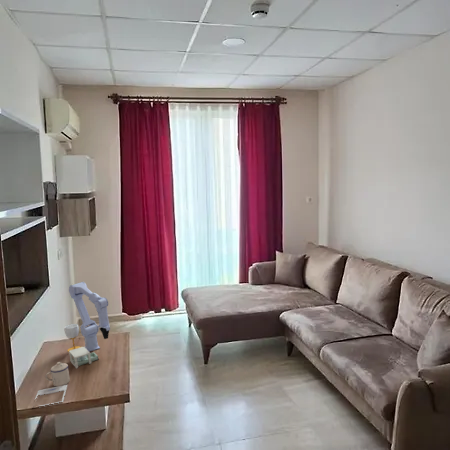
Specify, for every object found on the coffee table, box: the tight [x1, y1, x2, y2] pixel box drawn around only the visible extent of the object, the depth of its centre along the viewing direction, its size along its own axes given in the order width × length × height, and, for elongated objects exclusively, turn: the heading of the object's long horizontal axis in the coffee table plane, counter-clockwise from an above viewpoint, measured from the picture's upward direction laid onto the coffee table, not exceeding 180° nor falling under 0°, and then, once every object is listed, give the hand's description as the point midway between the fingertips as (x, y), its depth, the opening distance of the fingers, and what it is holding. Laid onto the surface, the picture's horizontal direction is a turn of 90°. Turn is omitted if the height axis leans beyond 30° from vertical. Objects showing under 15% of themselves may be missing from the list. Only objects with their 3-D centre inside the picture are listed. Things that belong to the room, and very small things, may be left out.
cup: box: [64, 323, 81, 353], centre depth 273 cm, size 9×9×16 cm
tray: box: [73, 351, 99, 367], centre depth 254 cm, size 8×13×4 cm, turn 125°
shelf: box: [68, 345, 92, 369], centre depth 252 cm, size 13×9×7 cm
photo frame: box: [34, 384, 68, 407], centre depth 215 cm, size 15×1×18 cm
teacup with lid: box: [45, 361, 70, 387], centre depth 228 cm, size 12×9×12 cm
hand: (106, 338), depth 261 cm, fingers closed
